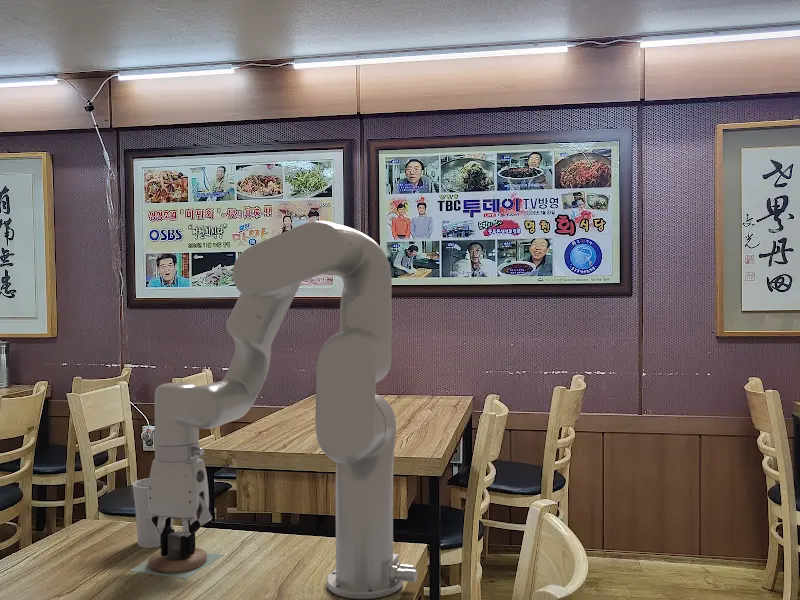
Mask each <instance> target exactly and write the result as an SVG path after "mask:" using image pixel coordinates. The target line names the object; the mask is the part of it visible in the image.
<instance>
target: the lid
mask: <svg viewBox="0 0 800 600" xmlns="http://www.w3.org/2000/svg"><path fill="white" fill-rule="evenodd" d="M182 536H184V533H183V531H175V532H173V533H170V534H168V555H166V556H161V551H158V552H156V553H154V554H152V555H151V556H150V557H149V558H148V559H147V561H148V567H149V569H150V570H152V571H154V572H157V573H166V574H171V573H181V572H187V571H191V570H194V569H197V568H199V567H201V566H203V565H204V564H205V563H206V562H207V553H208V552H207V551H205V550H204V549H202V548H198V547H195V552H194V554H193V555H191V556H190V557H188V558H186V559H182V558H181V537H182Z"/></svg>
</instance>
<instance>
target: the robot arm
mask: <svg viewBox="0 0 800 600" xmlns="http://www.w3.org/2000/svg"><path fill="white" fill-rule="evenodd" d="M322 275H324V276H325V275H326V276H336V277H340V278H341V279H342V283H343V288H342V292H341V297H340V305H339V310H340V311H339V312H340V313H339V314H340V319H339V320H340V321H339V332H337V333H334V334H333V335H332V336H330V337H329V338H328V339H327V340H326V341H325V343H323V345H322V347H321V349H320V351H319V354H318V357H317V360H316V367H315V368H316V371H315V373H316V374H315V414H314V415H315V421H314V422H315V423H314V425H315V427H314V428H315V434H316V435H315V436H316V440H317V443H318V446H319V448H320V449H321V451H322V452H323V454H325V455H326V457H328V458H329V459H330V460H332V461H333V462H335V463H336V465H335V466H336V468H335V569H334V570H332V571H331V572H330V573H329V574H328V575H327V577H326V587H327V589H328V590H329V591H330V592H331V593H333V594H335V595H336V596H339V597H342V598H347V599H353V600H354V599H355V600H370V599H371V600H372V599H378V598H383V597H386V596H387V597H388V596H389V595H392V594H394V593H396V592H397V591H398V590H400V589H401V588H402V586H403V585H404V583H403V582H408V583H417V580H418V570H417V569H415V568H416V567H415V565H413V564H402V563H401V562H400V561H399V560H400V559H399V557H400V555H399V553H394V494H393V493H394V457H395V456H394V455H395V446H396V445H395V444H396V437H397V421H396V416H395V413H394V410H393V408H392V406H391V404H390V403H389V402H388V401H387V400H386V399H385V398H384V397H382V396H381V395H379V394H377V393H376V388H377V383H380V381H382V380H384V379H385V378H386V377H387V375H388V374H389V372H390V370H391V366H392V358H393V357H392V332H393V331H392V321H393V320H392V319H393V317H392V315H393V314H392V293H393V292H392V291H393V290H392V289H393V288H392V285H393V284H392V283H393V282H392V269H391V265H390V262H389V259H388V257H387V254H386V253H385V251H384V250H383V249H382V247H381V246H380V245H379V243H377V242H376V241H375V240H374V239H373V238H371V237H369V235H367V234H365V233H363V232H361V231H359V230H357V229H355V228H352V227H349V226H347V225H343V224H338V223H335V222H331V221H326V220H313V221H309V222H308V221H307V222H305V223H303V224H301V225H298V226H295V227H293V228H291V229H289V230H286V231H284V232H281V233H279V234H277V235H274V236H272V237H269V238H267V239H264V240H263V241H260V242H258V243H255V244H252V245H251V246H249V247H248V248H246V249H245V250H243V251H242V252H241V253H240V254H239V255H238V257H237V258H236V259H235V261H234V264H233V268H232V281H233V283H234V286H235V287H236V289H237V290H238V291H239V292H240V294H239V295H238V298H237V300H236V302H235V304H234V307H233V309H232V311H231V313H230V315H229V317H228V319H227V321H226V327H225V328H226V331H227V333H228V334H229V335H230V336H231V337H232V339H233V342H234V353H233V358H232V359H231V362H230V365H229V368H228V369H227V372H226V373H225V375H224V377H223V379H222V380H220V381H216V382H212V383H207V384H202V385H198V386H197V385H196V384H194V383H191V382H183V381H182V382H178V381H177V382H168V383H162V384H160V385H158V386H157V387H156V389H155V391H154V459H153V460H152V463H151V465H150V466H151V467H150V471H149V472H150V473H149V477H148V478H149V489H148V505H147V507H146V509H145V511H144V515H145V516H146V517H148V518H149V519H150V520H152V522H153V523H154V525H155V526H156V527H157V532H158V533H159V534H160V552H161V556H166V555H168V534H170V533H173V532H176V531H175V528H173V525H172V522H173V521H174V519H181V524H182V525H181V526H182V532H183V533H184V536H182V537H181V558H182V559H186V558H188V557H190V556H191V555H193V554H194V552H195V548H196V533H197V532H199V529H200V528H201V527H202V526H203V525H206V524H207V523H208V522H210V521H212V519H213V516H212V514H211V511H210V510H209V508H210V495H209V483H208V482H209V481H208V475H207V469H206V465H205V461H204V459H203V458H200V456H203V455H204V454H205V448H204V447H201V446H200V429H203V430H209V429H214V428H217V427H220V426H223V425H226V424H228V423H230V422H234V421H237V420H239V419H241V418H243V417H244V416H246V414H247V413H248V412H249V411H250V410H251V408H252V407H253V405H254V403H255V402H256V399H257V398H258V396H259V394H260V392H261V390H262V388H263V386H264V384H265V381H266V379H267V376H268V372H269V369H270V363H271V357H272V344H273V342H274V339H275V338H276V335H277V333H278V332H279V329H280V327H281V325H282V322H283V321H284V318H285V316H286V314H287V313H288V310H289V309H290V307H291V305H292V302H293V301H294V298H295V296H296V294H297V292H298V290H299V288H300V285H301V284H302V282H305V281H307V280H311V279H313V278H315V277H319V276H322ZM197 514H199V518H198V515H197ZM173 523H174V522H173Z"/></svg>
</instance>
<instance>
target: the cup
mask: <svg viewBox="0 0 800 600" xmlns="http://www.w3.org/2000/svg"><path fill="white" fill-rule="evenodd" d="M149 478H150V477H148V478H143V479H138V480H135V481H134V482H133V483H132V491H133V501H134V508H135V509H134V510H135V520H136V533H137V546H138V547H141V548H145V549H152V548H159V547H160V534H159V533H158V532H157V527H156V526H155V525H154V523H153V522H152V520H150V519H149V518H148V517H146V516H145V515H144V511H145V509H146V507H147V505H148V489H149ZM173 524H174V522H172V526H173Z"/></svg>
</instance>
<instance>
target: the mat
mask: <svg viewBox="0 0 800 600" xmlns="http://www.w3.org/2000/svg"><path fill="white" fill-rule="evenodd" d="M206 553H207V562H206V563H205V564H204V565H203V566H201V567H199V568H197V569H194V570H191V571H187V572H181V573H171V574H166V573H157V572H154V571H152V570H150V569H149V567H148V560H147V561H145V562H143V563H142V564H139V565H138V566H136V567H134V568H132V569H130V570H129V572H132V573H141V574H146V575H154V576H162V577H169V578H176V579H182V580H187V579H189V578H191V577H192V576H193V575H195V574H197V573H198V572H200V571H202V570H203V569H204V568H206V567H208V566H210V565H211V564H212V563H214V562H215V561H217V560H219V559H221V558H222V557H224V554H217V553H209V552H206Z"/></svg>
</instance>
